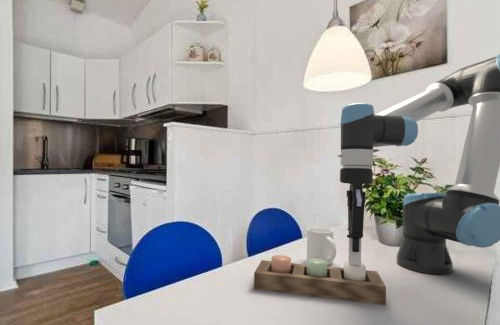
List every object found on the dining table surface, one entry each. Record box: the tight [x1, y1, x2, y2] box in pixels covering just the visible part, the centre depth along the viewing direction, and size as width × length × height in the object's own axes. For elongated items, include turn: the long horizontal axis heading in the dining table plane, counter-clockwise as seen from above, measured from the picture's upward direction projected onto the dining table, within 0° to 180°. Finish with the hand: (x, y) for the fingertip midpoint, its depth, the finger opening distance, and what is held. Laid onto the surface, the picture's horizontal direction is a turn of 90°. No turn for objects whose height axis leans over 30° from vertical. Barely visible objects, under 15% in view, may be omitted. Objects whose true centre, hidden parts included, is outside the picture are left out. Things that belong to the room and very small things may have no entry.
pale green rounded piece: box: [306, 258, 328, 278], centre depth 72 cm, size 5×5×4 cm
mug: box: [306, 226, 337, 266], centre depth 91 cm, size 12×8×10 cm
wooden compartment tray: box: [253, 259, 387, 306], centre depth 72 cm, size 30×10×4 cm, turn 77°
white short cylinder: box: [343, 261, 367, 282], centre depth 70 cm, size 5×5×4 cm
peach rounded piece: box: [271, 254, 292, 274], centre depth 74 cm, size 5×5×4 cm
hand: (354, 263), depth 70 cm, fingers closed
